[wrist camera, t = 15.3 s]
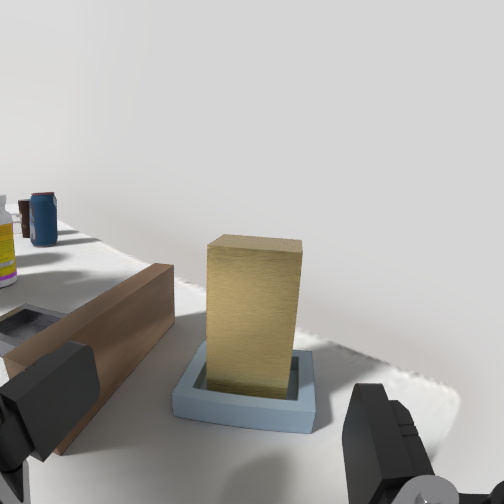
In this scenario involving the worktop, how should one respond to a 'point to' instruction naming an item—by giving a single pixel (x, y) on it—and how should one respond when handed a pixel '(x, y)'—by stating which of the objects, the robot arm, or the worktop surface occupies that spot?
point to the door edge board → (108, 333)
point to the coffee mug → (24, 217)
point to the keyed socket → (248, 399)
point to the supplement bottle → (6, 247)
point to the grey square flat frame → (24, 325)
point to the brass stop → (251, 314)
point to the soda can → (43, 219)
